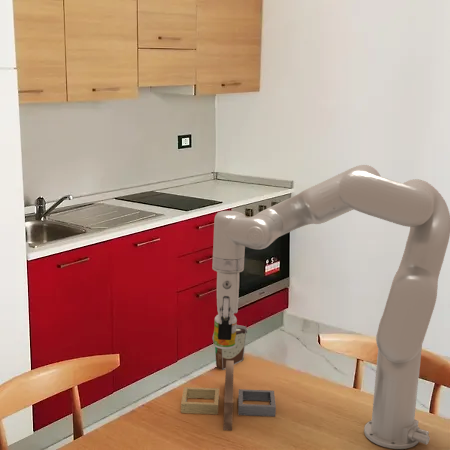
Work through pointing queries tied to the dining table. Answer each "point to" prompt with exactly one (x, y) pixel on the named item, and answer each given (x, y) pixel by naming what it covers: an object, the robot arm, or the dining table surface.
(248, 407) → the double square frame
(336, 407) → the dining table surface
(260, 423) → the dining table surface
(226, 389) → the brown wooden plank
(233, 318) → the supplement bottle
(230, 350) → the food container
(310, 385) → the dining table surface
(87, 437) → the dining table surface
